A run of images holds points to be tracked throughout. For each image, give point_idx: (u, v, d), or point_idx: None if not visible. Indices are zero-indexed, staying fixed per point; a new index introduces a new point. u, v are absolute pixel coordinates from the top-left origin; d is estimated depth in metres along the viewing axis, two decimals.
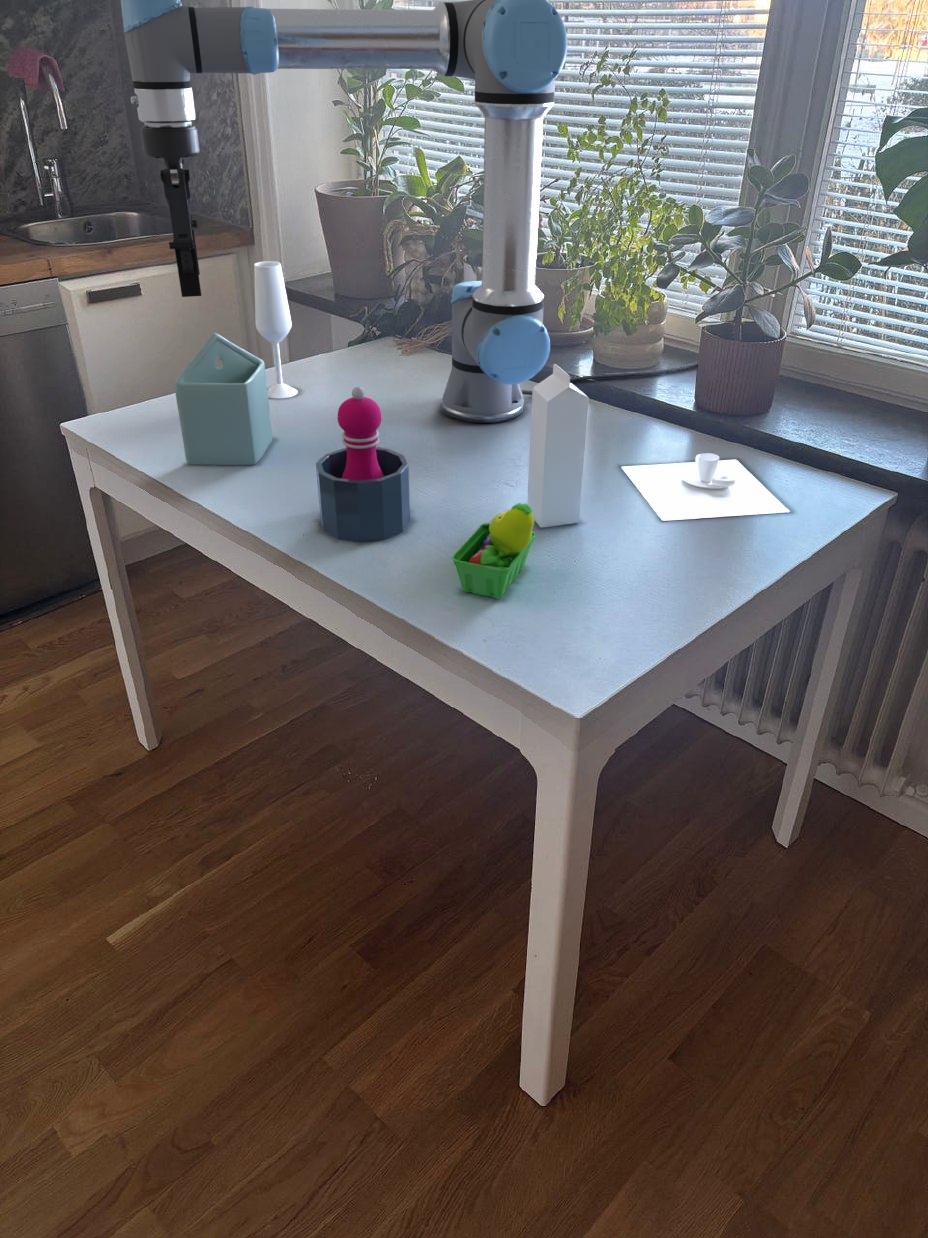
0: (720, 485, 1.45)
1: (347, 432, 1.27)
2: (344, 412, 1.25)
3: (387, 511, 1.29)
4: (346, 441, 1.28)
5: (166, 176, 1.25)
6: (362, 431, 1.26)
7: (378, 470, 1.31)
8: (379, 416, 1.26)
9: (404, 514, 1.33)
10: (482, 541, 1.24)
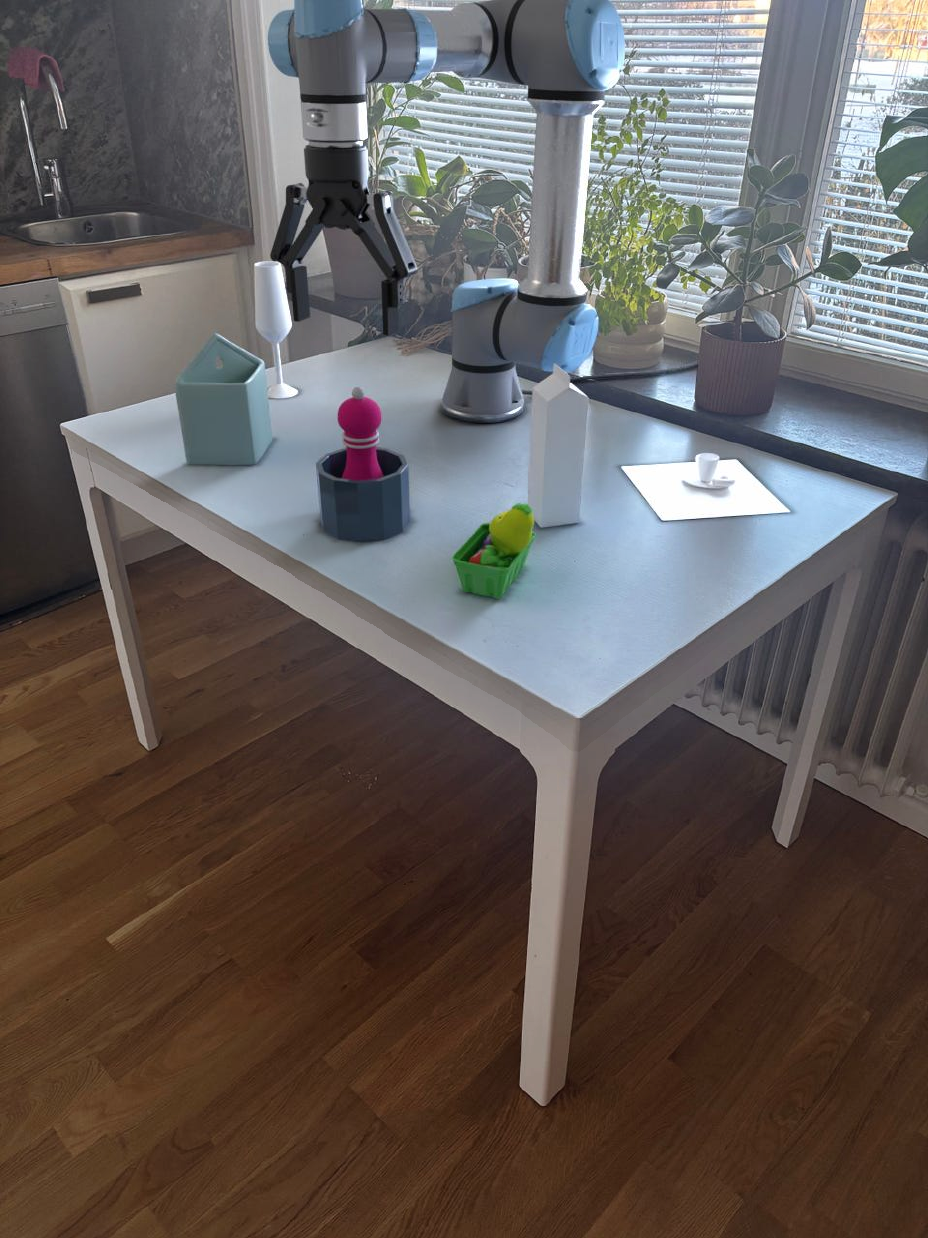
0: (720, 485, 1.45)
1: (347, 432, 1.27)
2: (344, 412, 1.25)
3: (387, 511, 1.29)
4: (346, 441, 1.28)
5: (383, 201, 1.10)
6: (362, 431, 1.26)
7: (378, 470, 1.31)
8: (379, 416, 1.26)
9: (404, 514, 1.33)
10: (482, 541, 1.24)
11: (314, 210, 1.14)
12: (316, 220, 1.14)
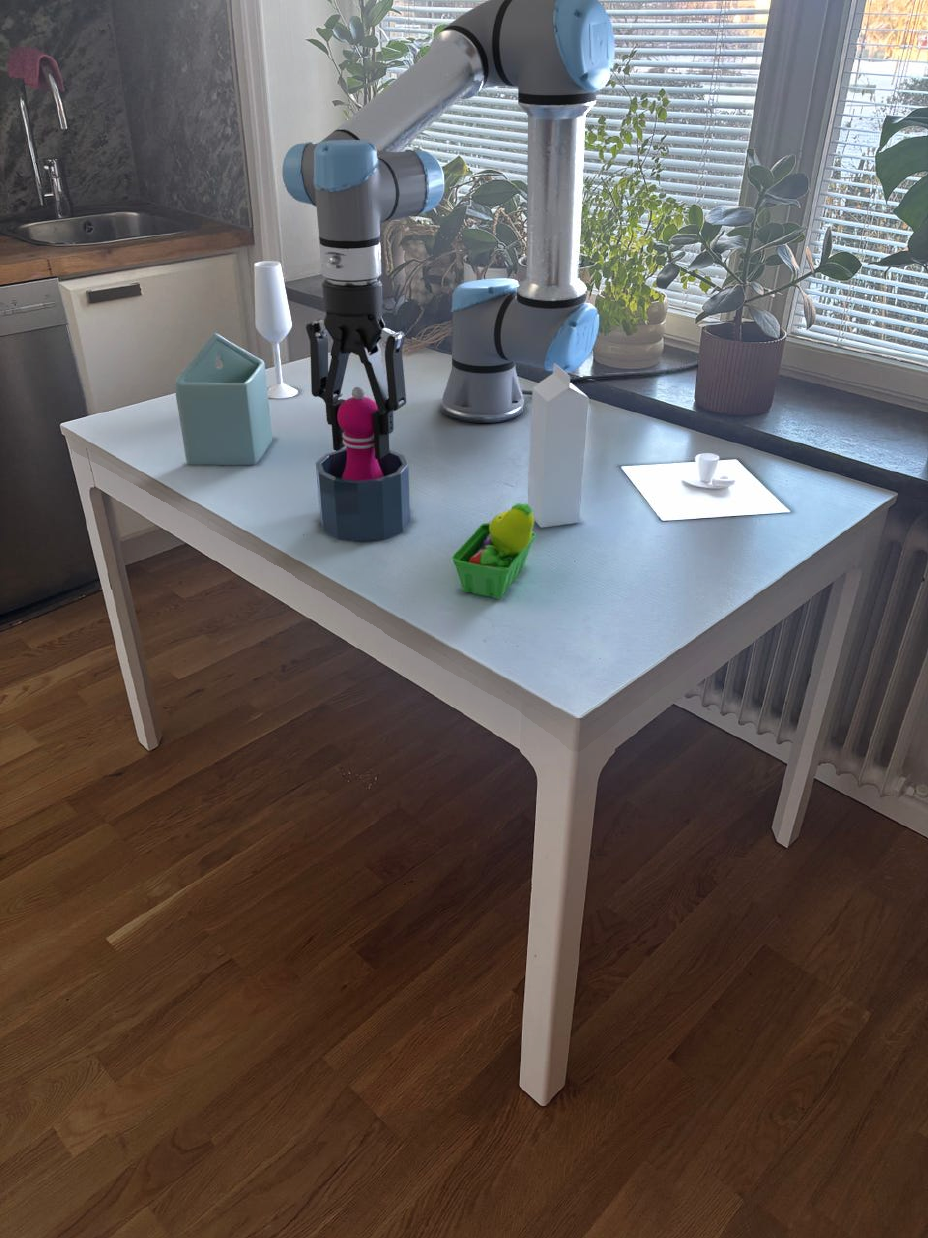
0: (720, 485, 1.45)
1: (347, 432, 1.27)
2: (344, 412, 1.25)
3: (387, 511, 1.29)
4: (346, 441, 1.28)
5: (395, 344, 1.18)
6: (362, 431, 1.26)
7: (378, 470, 1.31)
8: None
9: (404, 514, 1.33)
10: (482, 541, 1.24)
11: (334, 341, 1.21)
12: (339, 349, 1.22)
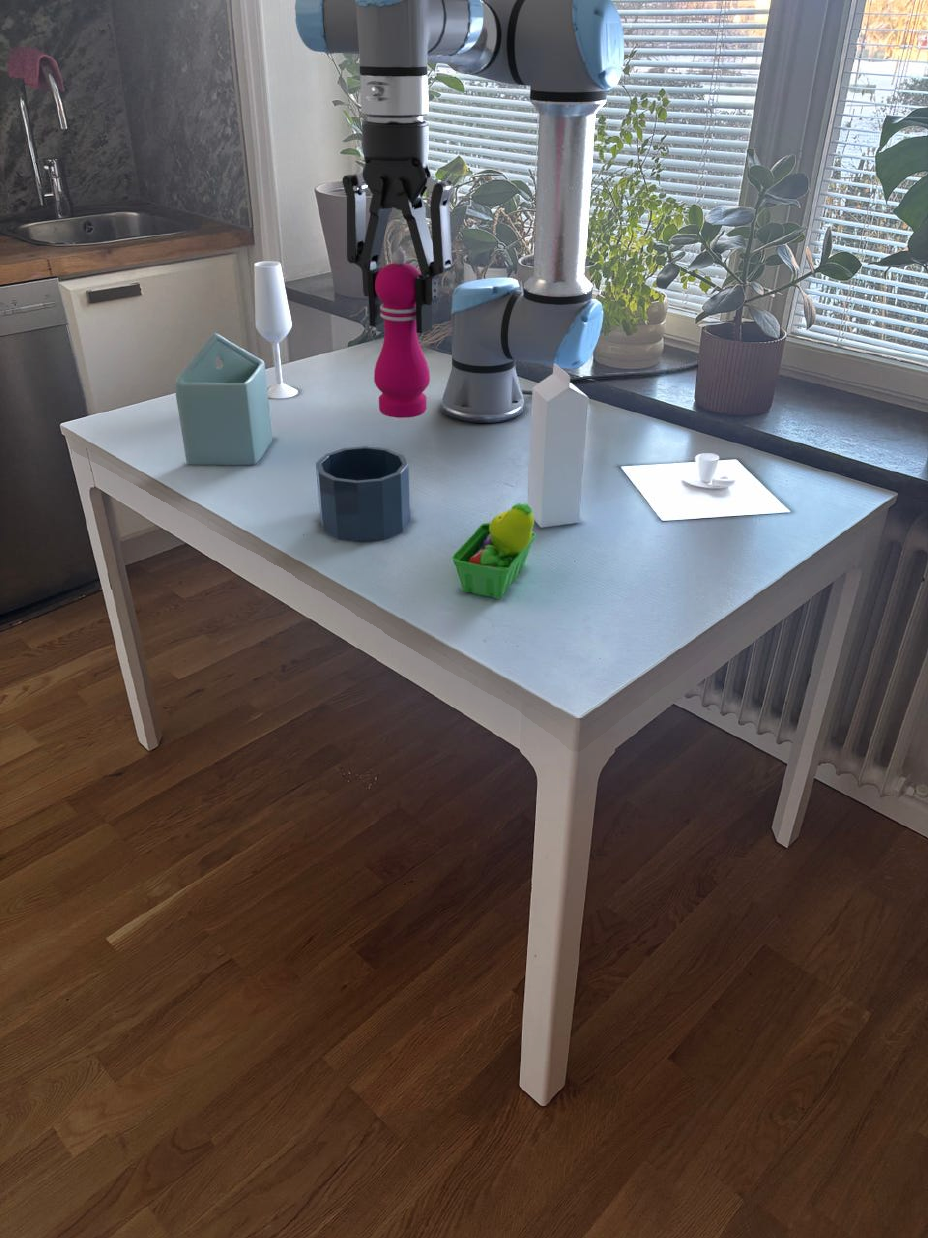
0: (720, 485, 1.45)
1: (386, 302, 1.14)
2: (383, 277, 1.12)
3: (387, 511, 1.29)
4: (384, 313, 1.15)
5: (443, 193, 1.06)
6: (403, 300, 1.13)
7: (418, 349, 1.18)
8: None
9: (404, 514, 1.33)
10: (482, 541, 1.24)
11: (374, 193, 1.09)
12: (379, 203, 1.09)
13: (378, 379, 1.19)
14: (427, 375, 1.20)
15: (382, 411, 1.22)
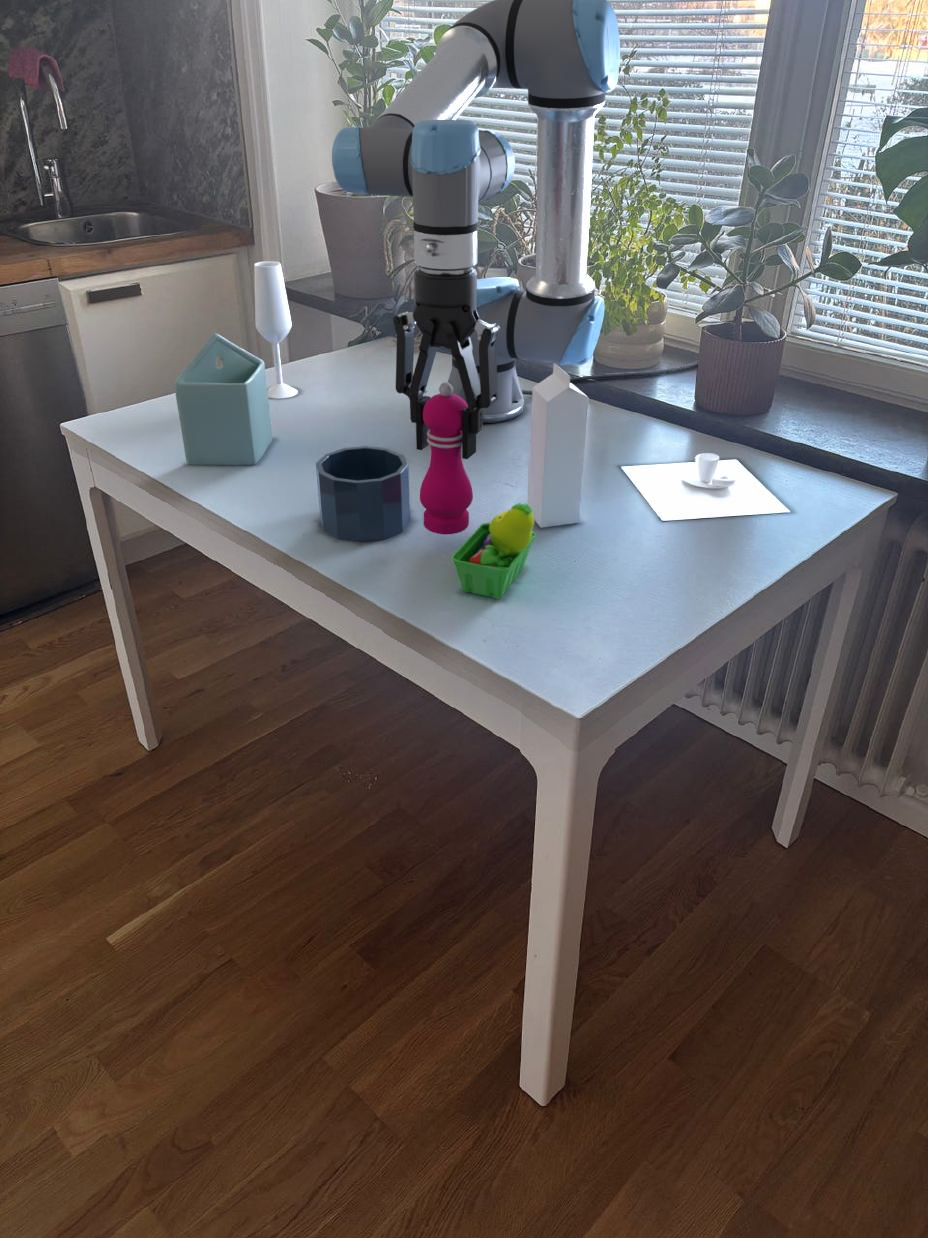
0: (720, 485, 1.45)
1: (433, 431, 1.20)
2: (431, 409, 1.18)
3: (387, 511, 1.29)
4: (432, 440, 1.21)
5: (491, 337, 1.12)
6: (450, 430, 1.19)
7: (463, 471, 1.24)
8: None
9: (404, 514, 1.33)
10: (482, 541, 1.24)
11: (424, 334, 1.15)
12: (429, 342, 1.15)
13: (425, 500, 1.25)
14: (471, 494, 1.26)
15: (427, 527, 1.27)
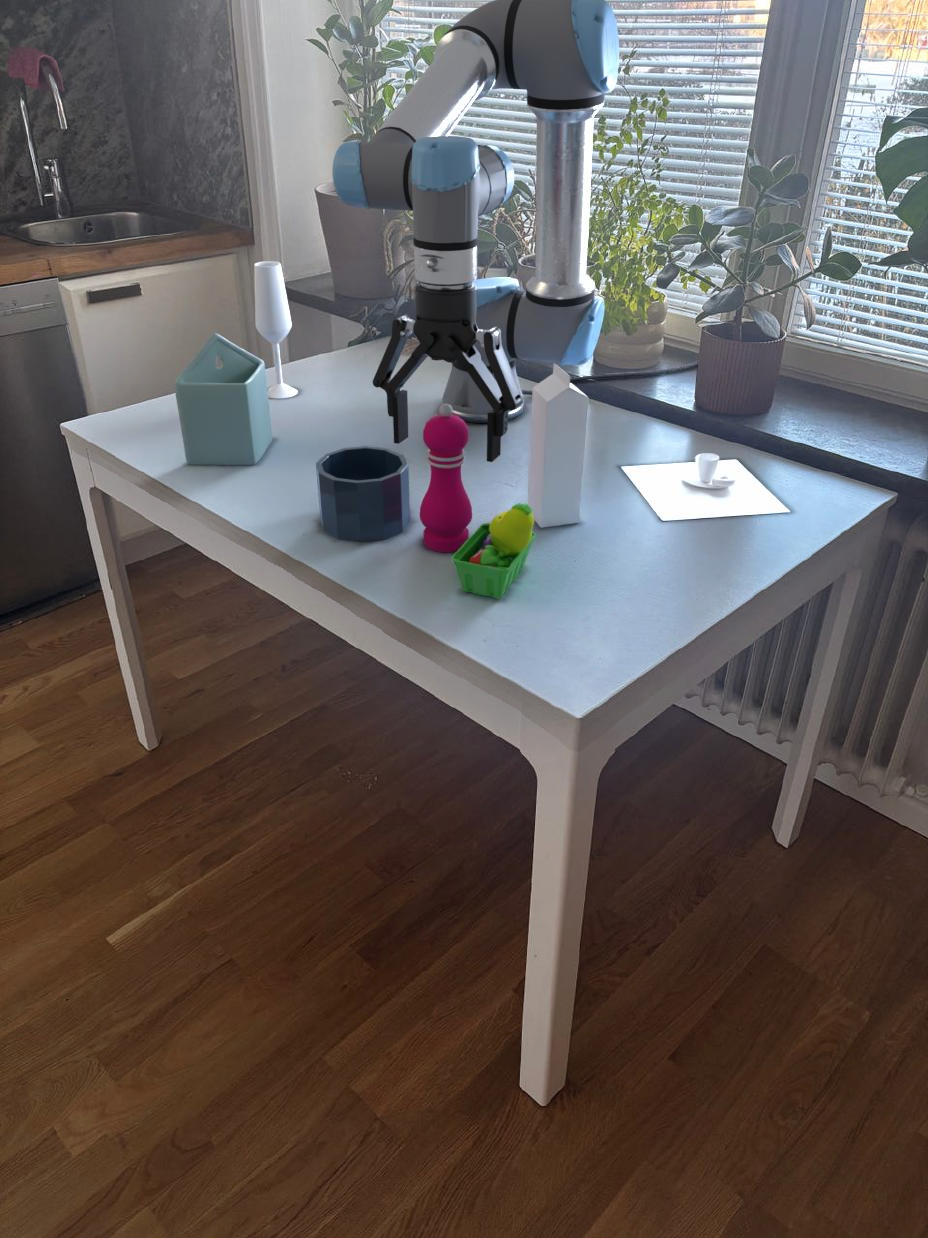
0: (720, 485, 1.45)
1: (433, 451, 1.21)
2: (431, 430, 1.20)
3: (387, 511, 1.29)
4: (431, 460, 1.22)
5: (493, 339, 1.12)
6: (450, 450, 1.20)
7: (462, 490, 1.26)
8: (467, 434, 1.21)
9: (404, 514, 1.33)
10: (482, 541, 1.24)
11: (422, 344, 1.15)
12: (423, 353, 1.16)
13: (425, 518, 1.26)
14: (470, 513, 1.27)
15: (427, 545, 1.29)
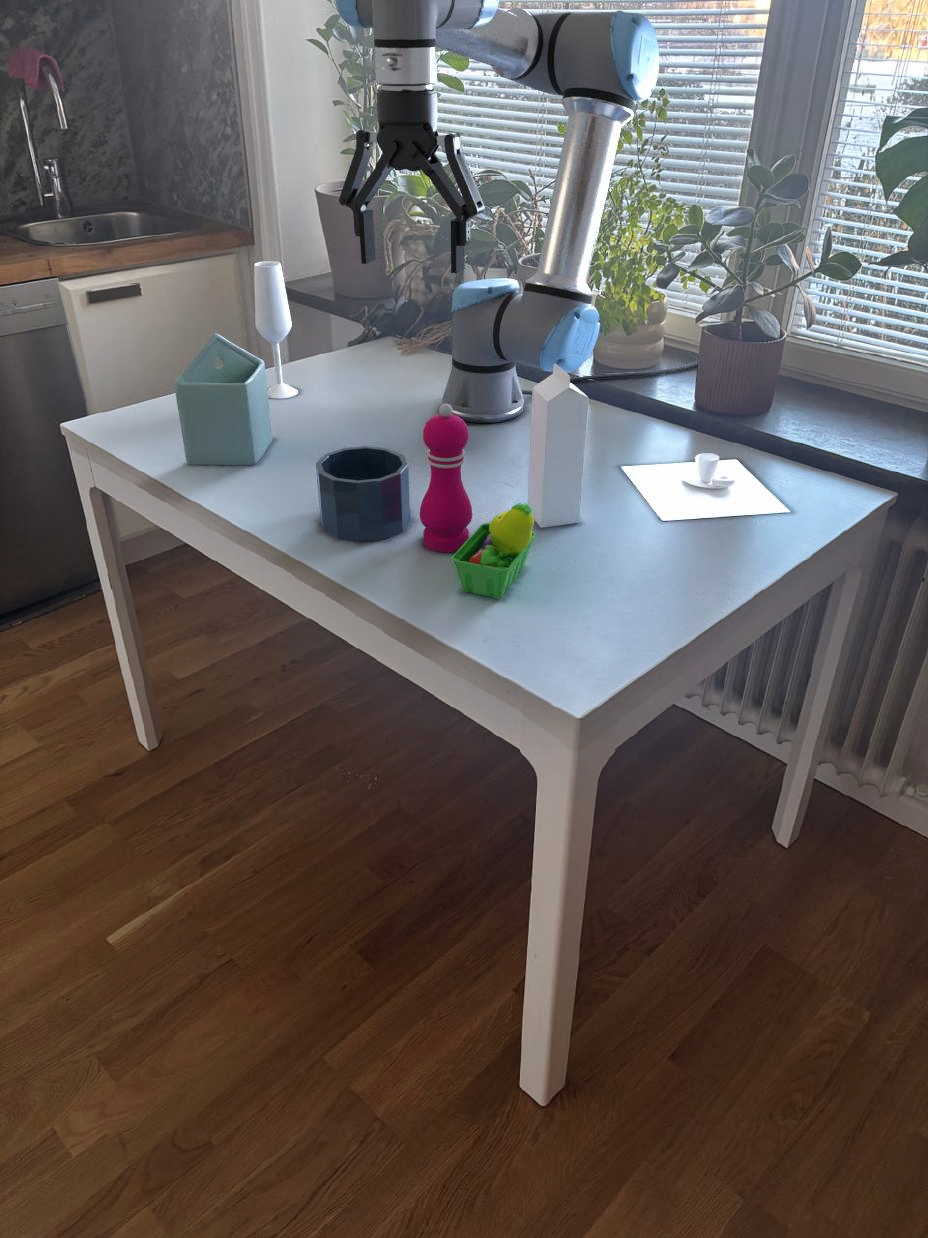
0: (720, 485, 1.45)
1: (433, 451, 1.21)
2: (431, 430, 1.20)
3: (387, 511, 1.29)
4: (431, 460, 1.22)
5: (453, 141, 1.16)
6: (450, 450, 1.20)
7: (462, 490, 1.26)
8: (467, 434, 1.21)
9: (404, 514, 1.33)
10: (482, 541, 1.24)
11: (385, 153, 1.19)
12: (387, 163, 1.20)
13: (425, 518, 1.26)
14: (470, 513, 1.27)
15: (427, 545, 1.29)
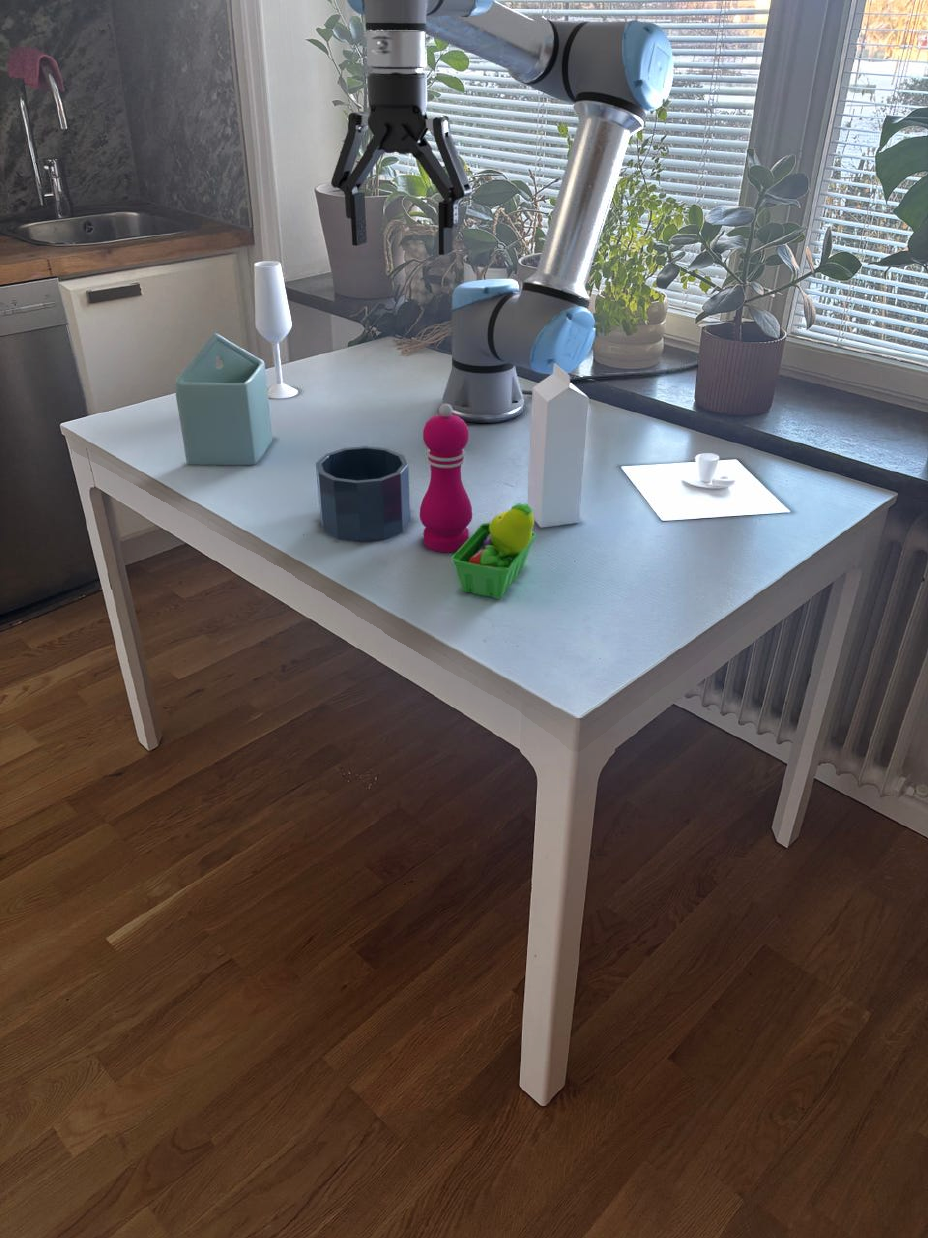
0: (720, 485, 1.45)
1: (433, 451, 1.21)
2: (431, 430, 1.20)
3: (387, 511, 1.29)
4: (431, 460, 1.22)
5: (442, 124, 1.18)
6: (450, 450, 1.20)
7: (462, 490, 1.26)
8: (467, 434, 1.21)
9: (404, 514, 1.33)
10: (482, 541, 1.24)
11: (375, 136, 1.22)
12: (377, 145, 1.22)
13: (425, 518, 1.26)
14: (470, 513, 1.27)
15: (427, 545, 1.29)
